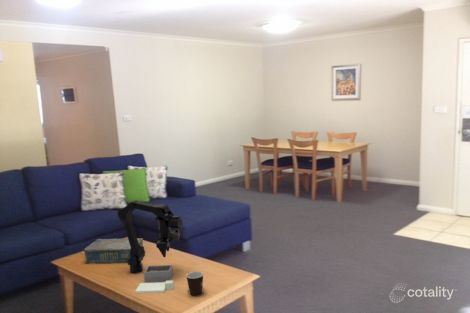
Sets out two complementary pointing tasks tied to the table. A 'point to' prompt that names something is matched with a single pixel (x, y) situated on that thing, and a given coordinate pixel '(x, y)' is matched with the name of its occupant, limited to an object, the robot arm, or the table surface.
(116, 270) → the table surface
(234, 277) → the table surface
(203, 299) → the table surface
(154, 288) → the cube on cream block
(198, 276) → the coffee mug
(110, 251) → the metal box
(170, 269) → the tub
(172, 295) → the table surface
